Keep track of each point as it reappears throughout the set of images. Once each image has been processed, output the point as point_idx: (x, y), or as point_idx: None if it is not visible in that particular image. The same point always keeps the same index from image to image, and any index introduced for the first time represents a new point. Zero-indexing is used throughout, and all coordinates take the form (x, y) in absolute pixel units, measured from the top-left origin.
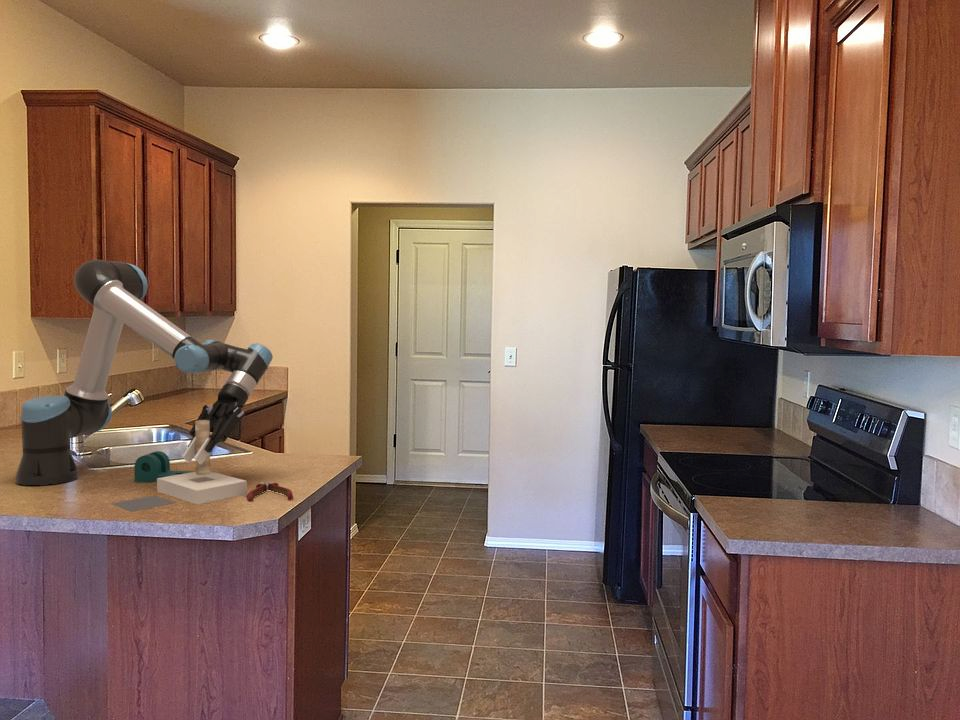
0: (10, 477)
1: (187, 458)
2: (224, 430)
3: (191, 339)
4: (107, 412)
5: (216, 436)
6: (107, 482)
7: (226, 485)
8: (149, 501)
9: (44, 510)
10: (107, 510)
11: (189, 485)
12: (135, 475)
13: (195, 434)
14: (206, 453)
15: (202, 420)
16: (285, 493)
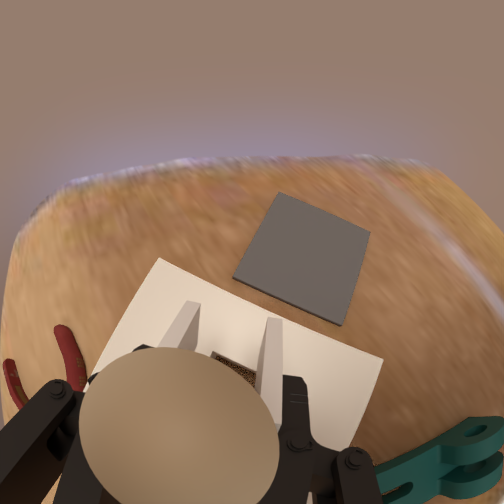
0: None
1: (262, 341)
2: (20, 414)
3: None
4: None
5: None
6: (499, 382)
7: (109, 341)
8: (307, 269)
9: (427, 190)
10: (344, 205)
11: (216, 308)
12: (477, 417)
13: (291, 440)
14: None
15: (195, 479)
16: (24, 399)
